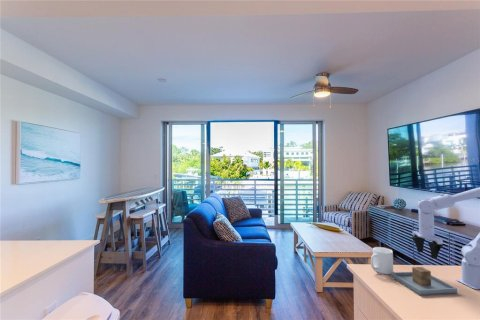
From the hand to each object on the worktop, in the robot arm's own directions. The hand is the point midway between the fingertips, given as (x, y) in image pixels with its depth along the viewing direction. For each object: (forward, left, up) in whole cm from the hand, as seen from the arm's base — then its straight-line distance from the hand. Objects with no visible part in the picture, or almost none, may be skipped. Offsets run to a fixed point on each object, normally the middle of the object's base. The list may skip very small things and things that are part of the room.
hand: (427, 254), depth 113 cm
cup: (+19, -6, -10) cm, 22 cm away
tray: (+10, +8, -9) cm, 16 cm away
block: (+10, +8, -9) cm, 16 cm away
